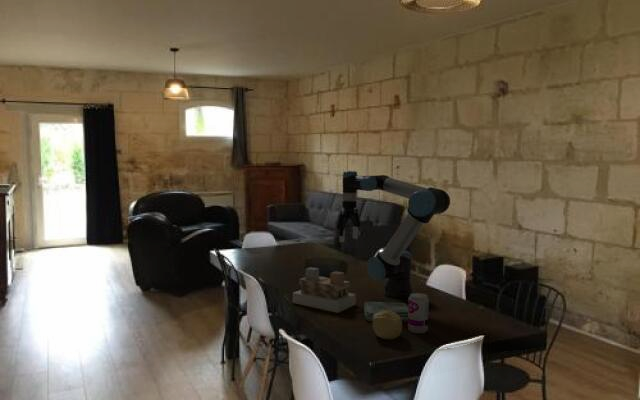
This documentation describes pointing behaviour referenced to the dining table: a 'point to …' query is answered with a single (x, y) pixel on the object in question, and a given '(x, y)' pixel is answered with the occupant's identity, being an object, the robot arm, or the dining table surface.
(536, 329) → the dining table surface
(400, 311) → the towel
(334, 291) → the board
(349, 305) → the dock
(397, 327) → the tan round ball
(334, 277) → the block
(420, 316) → the supplement can
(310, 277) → the grey cube
